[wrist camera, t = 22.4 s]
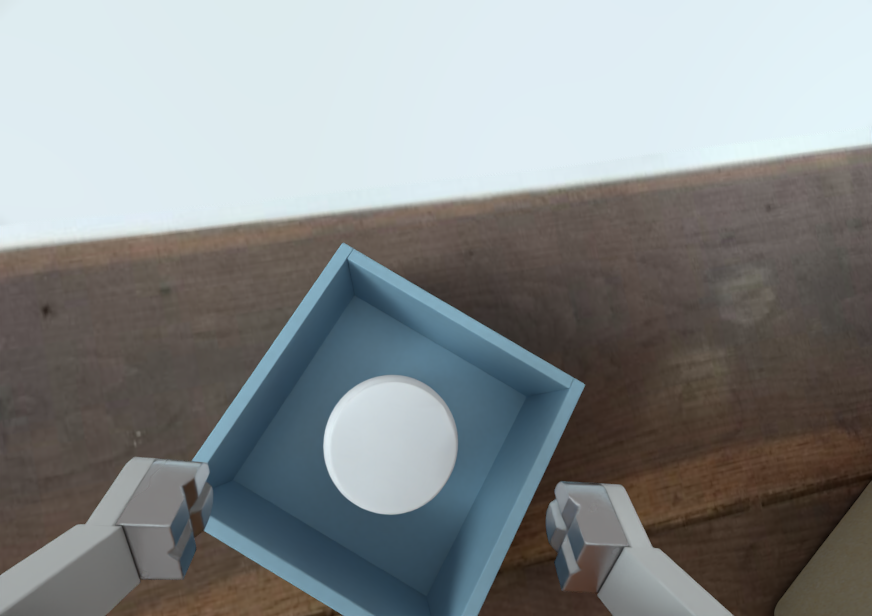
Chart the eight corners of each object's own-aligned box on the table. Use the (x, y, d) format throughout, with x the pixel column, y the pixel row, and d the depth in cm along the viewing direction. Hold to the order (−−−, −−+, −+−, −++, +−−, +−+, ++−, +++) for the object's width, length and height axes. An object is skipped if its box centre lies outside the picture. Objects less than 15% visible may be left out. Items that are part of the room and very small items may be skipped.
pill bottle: (318, 420, 26) (282, 420, 16) (404, 366, 27) (417, 336, 18) (372, 511, 25) (366, 567, 16) (458, 451, 26) (502, 468, 17)
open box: (219, 483, 25) (160, 505, 18) (351, 284, 29) (342, 241, 22) (429, 609, 25) (448, 680, 18) (536, 393, 28) (585, 384, 22)
